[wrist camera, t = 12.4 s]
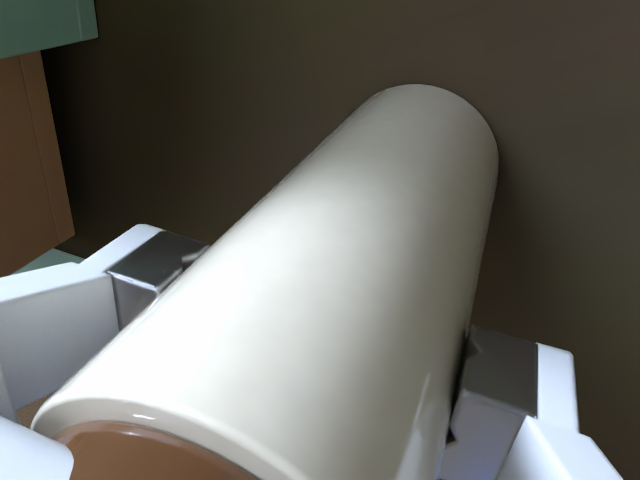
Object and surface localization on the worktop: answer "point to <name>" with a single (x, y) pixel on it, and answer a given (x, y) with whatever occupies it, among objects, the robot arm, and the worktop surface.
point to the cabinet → (44, 24)
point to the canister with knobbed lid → (307, 318)
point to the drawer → (30, 172)
